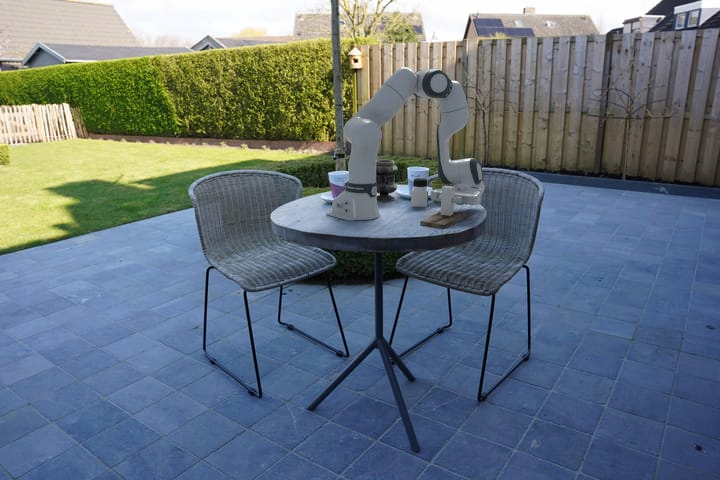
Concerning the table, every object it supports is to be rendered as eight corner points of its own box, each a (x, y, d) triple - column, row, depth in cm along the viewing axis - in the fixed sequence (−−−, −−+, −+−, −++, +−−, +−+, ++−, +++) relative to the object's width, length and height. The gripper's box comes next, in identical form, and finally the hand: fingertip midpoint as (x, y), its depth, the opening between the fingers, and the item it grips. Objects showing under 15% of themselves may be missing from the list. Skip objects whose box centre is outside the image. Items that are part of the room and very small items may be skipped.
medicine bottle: (427, 207, 217) (428, 180, 214) (411, 206, 219) (411, 179, 215) (428, 203, 224) (428, 177, 221) (412, 203, 225) (412, 176, 222)
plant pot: (450, 204, 223) (451, 184, 221) (429, 203, 225) (429, 184, 222) (450, 199, 232) (451, 181, 229) (430, 198, 234) (431, 180, 231)
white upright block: (440, 214, 197) (441, 187, 193) (443, 212, 199) (445, 185, 196) (450, 215, 194) (451, 188, 191) (453, 214, 197) (454, 186, 193)
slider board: (420, 224, 190) (420, 220, 190) (442, 214, 205) (442, 210, 205) (444, 228, 185) (444, 224, 184) (465, 217, 200) (465, 213, 199)
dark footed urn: (397, 201, 228) (397, 162, 222) (370, 201, 229) (370, 162, 223) (397, 196, 239) (397, 158, 234) (372, 196, 240) (372, 158, 235)
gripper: (439, 183, 210) (423, 189, 199) (485, 189, 198) (471, 195, 188) (438, 198, 212) (422, 204, 201) (484, 204, 200) (470, 211, 189)
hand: (446, 200), depth 194 cm, fingers closed on white upright block, 4 cm apart
